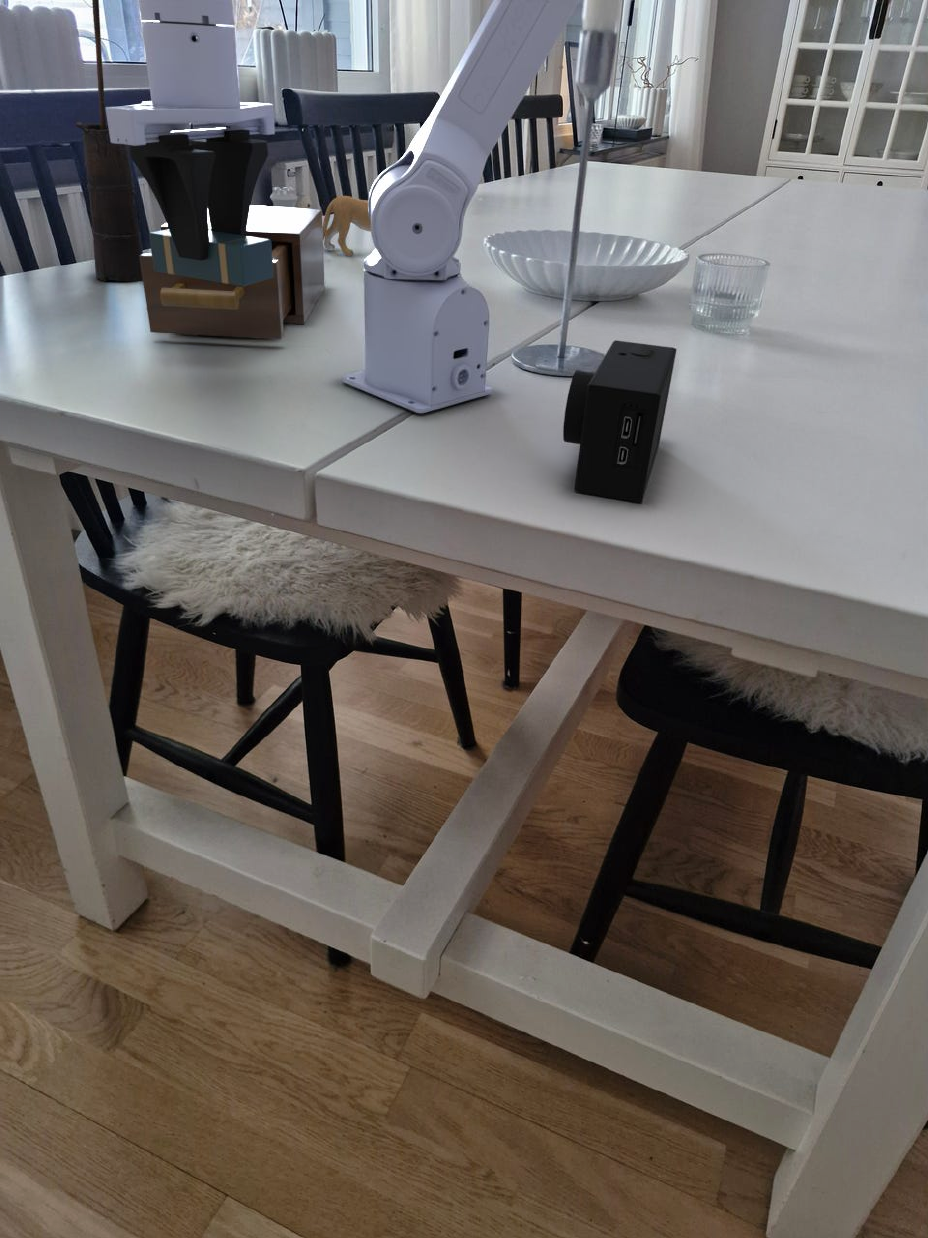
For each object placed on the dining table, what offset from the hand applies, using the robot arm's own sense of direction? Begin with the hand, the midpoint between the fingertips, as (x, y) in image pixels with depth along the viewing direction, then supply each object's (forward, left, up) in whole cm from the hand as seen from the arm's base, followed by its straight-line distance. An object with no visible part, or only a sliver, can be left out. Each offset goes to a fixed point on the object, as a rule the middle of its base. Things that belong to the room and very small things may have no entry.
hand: (212, 253), depth 62 cm
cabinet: (+20, -16, -10) cm, 28 cm away
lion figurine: (+34, -43, -10) cm, 56 cm away
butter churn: (+37, -9, -10) cm, 39 cm away
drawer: (+12, -8, -9) cm, 17 cm away
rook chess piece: (+36, -31, -10) cm, 49 cm away
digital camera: (-29, -11, -10) cm, 33 cm away
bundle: (0, 0, -1) cm, 1 cm away
